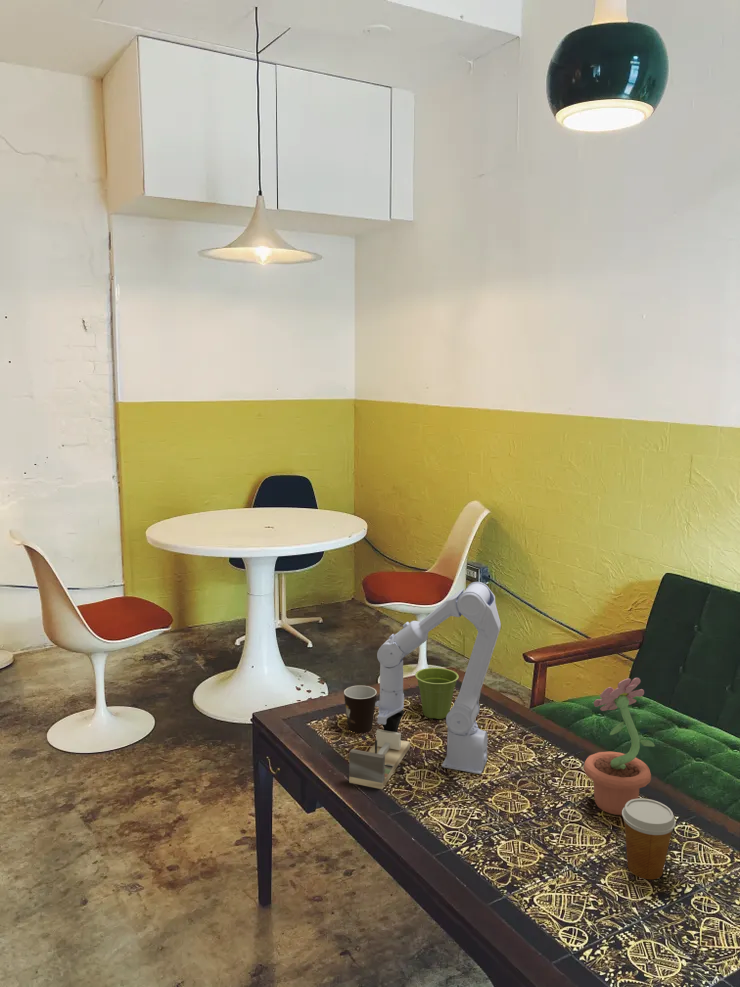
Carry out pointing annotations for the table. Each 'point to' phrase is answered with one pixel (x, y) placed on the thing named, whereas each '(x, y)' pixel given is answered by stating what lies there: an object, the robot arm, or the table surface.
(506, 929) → the table surface
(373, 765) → the beige l-shaped stand
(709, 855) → the table surface
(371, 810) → the table surface
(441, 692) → the plant pot
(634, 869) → the disposable coffee cup
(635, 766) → the decorative flower
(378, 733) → the white t-shaped block
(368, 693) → the coffee mug
